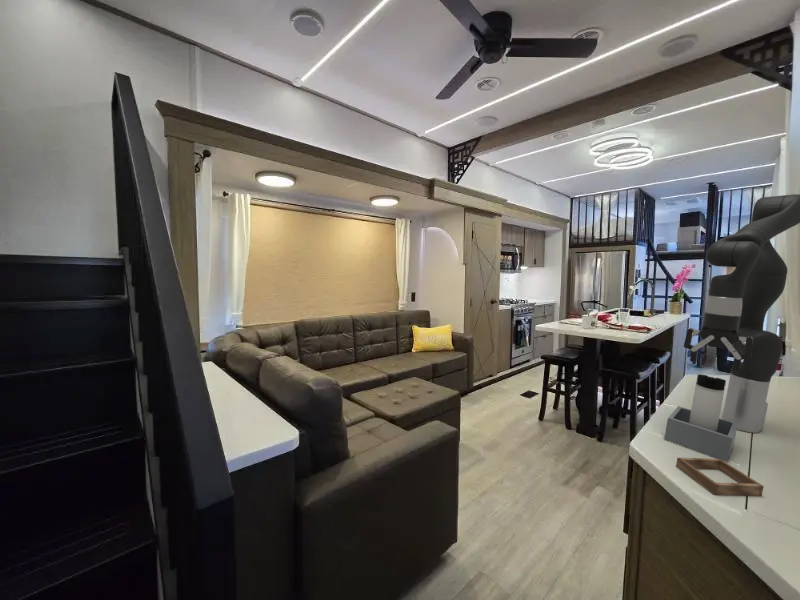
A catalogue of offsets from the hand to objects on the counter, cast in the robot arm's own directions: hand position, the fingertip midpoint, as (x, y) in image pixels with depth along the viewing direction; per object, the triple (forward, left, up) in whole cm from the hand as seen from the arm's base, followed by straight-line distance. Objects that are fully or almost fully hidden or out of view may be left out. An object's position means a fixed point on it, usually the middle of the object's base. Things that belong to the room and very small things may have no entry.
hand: (713, 367), depth 99 cm
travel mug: (0, 0, -23) cm, 23 cm away
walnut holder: (+12, +17, -24) cm, 32 cm away
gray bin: (0, 0, -24) cm, 24 cm away
